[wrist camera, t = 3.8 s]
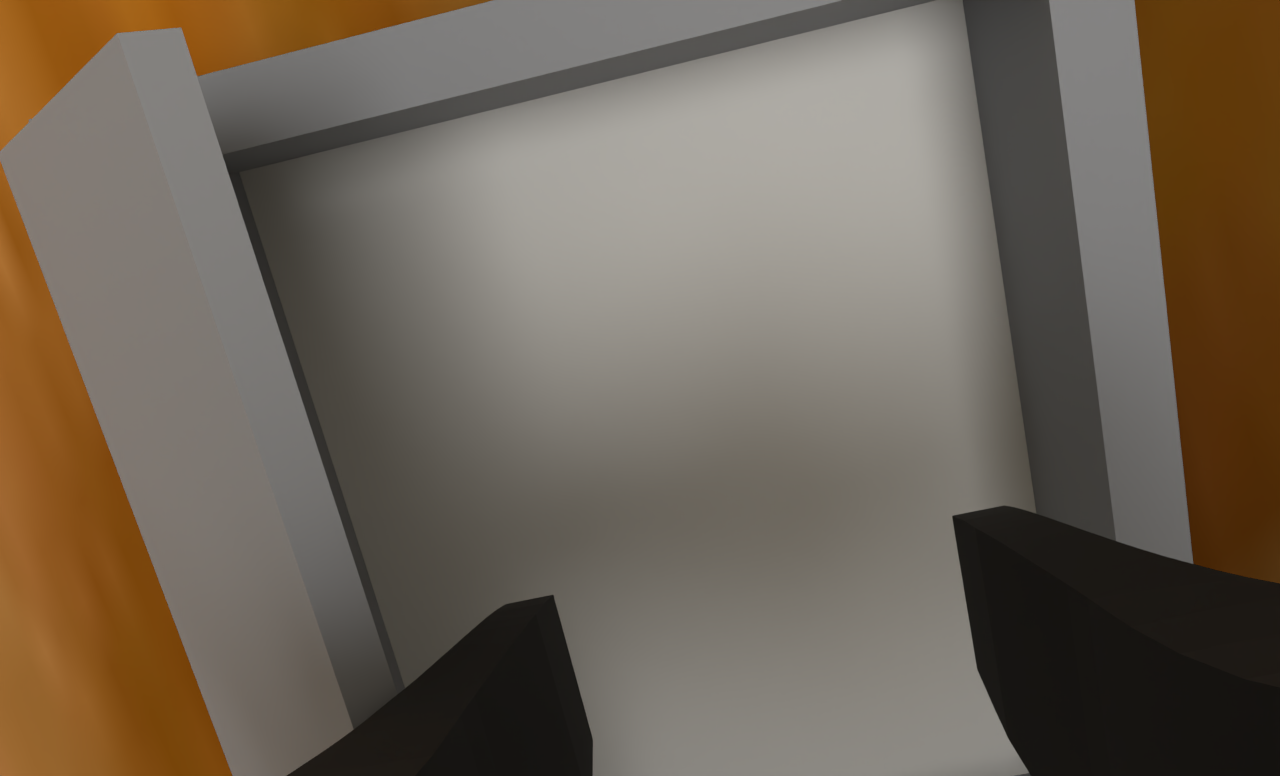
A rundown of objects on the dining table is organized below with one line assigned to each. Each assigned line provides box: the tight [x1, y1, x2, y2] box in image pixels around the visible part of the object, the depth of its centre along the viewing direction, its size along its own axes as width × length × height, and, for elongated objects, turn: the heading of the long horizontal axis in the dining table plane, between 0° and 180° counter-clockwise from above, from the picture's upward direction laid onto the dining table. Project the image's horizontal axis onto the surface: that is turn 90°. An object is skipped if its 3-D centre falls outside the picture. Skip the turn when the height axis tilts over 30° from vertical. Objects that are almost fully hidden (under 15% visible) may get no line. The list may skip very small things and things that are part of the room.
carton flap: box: [0, 28, 397, 776], centre depth 12 cm, size 6×15×1 cm
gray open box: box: [29, 0, 1193, 776], centre depth 16 cm, size 14×16×4 cm
